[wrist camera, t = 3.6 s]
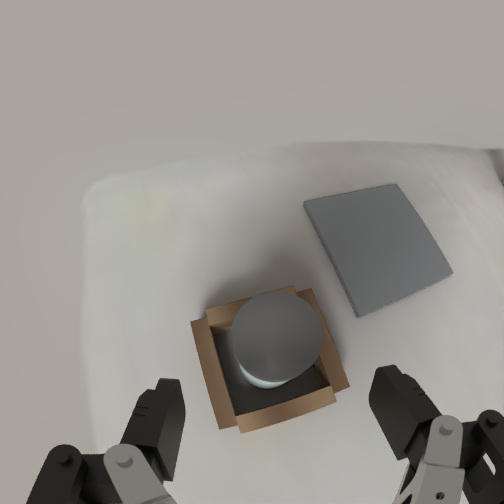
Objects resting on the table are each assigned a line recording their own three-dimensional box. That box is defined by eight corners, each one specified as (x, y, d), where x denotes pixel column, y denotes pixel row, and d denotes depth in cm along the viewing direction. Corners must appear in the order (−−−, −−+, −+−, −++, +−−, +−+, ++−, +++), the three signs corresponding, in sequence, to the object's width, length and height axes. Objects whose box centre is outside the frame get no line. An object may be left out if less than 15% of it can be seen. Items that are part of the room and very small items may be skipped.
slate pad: (394, 187, 29) (396, 184, 29) (450, 275, 23) (453, 272, 23) (303, 205, 27) (304, 201, 27) (357, 318, 21) (359, 315, 21)
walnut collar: (302, 294, 22) (308, 280, 20) (341, 396, 18) (352, 394, 16) (194, 324, 21) (188, 313, 19) (225, 434, 17) (222, 437, 15)
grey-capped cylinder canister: (284, 329, 21) (304, 281, 14) (303, 380, 19) (336, 361, 12) (231, 344, 20) (220, 304, 13) (247, 397, 18) (246, 391, 11)
